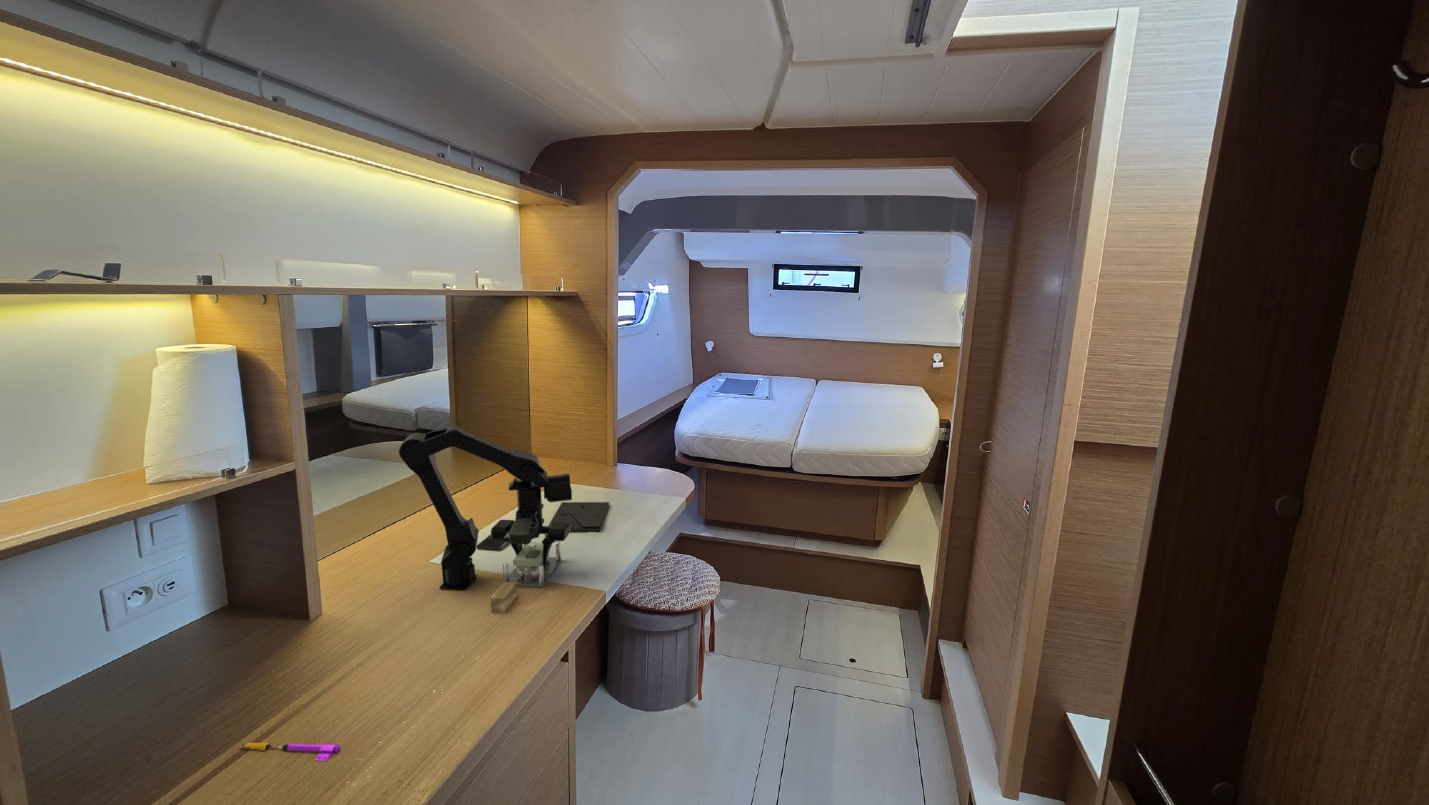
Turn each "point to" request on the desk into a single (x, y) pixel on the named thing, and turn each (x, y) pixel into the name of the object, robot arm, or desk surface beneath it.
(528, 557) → the board
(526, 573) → the chassis
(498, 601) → the block
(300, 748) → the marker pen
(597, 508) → the picture frame
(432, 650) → the desk surface
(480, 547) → the phone
